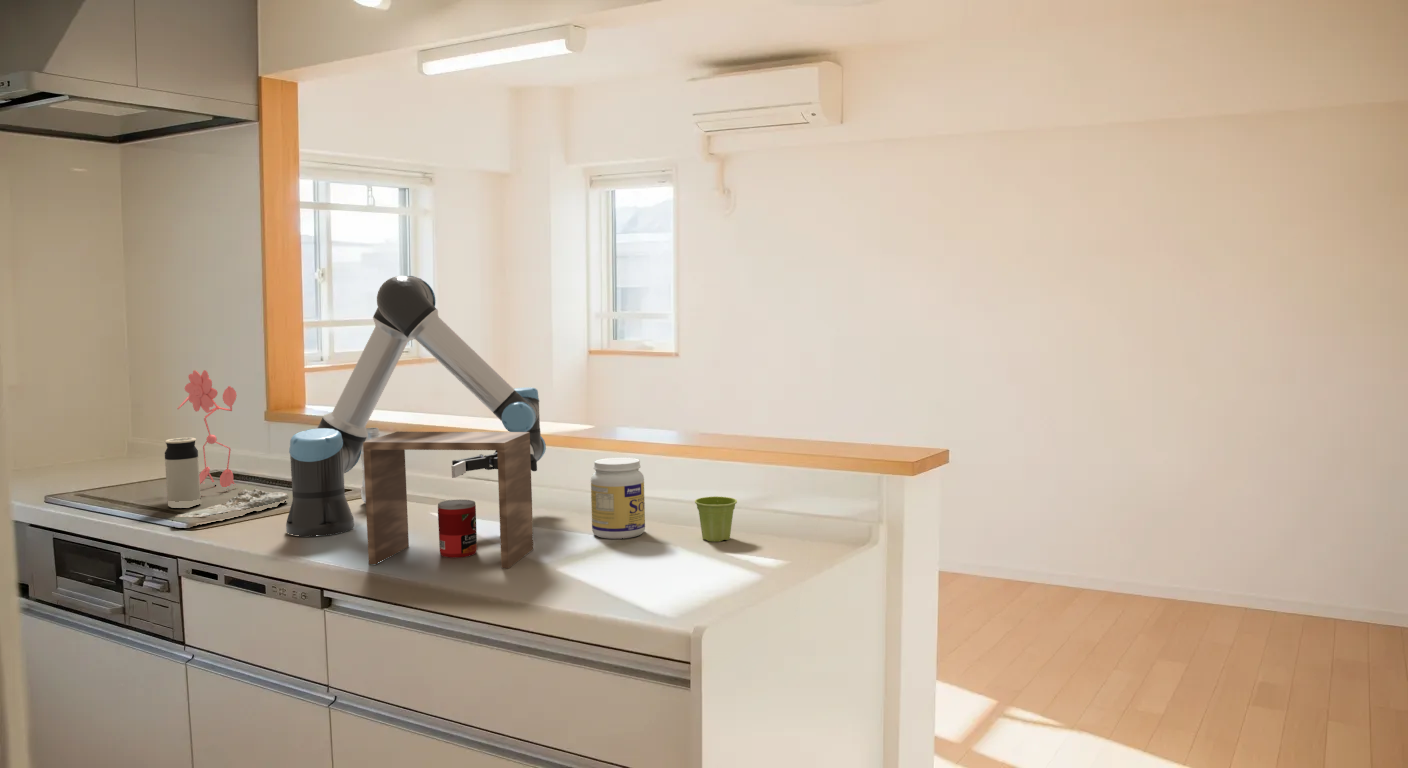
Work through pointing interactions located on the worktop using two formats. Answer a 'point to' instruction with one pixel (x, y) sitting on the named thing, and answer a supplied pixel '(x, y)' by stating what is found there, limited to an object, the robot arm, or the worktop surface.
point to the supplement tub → (617, 498)
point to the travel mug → (182, 470)
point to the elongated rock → (240, 503)
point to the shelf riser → (389, 450)
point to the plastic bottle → (372, 434)
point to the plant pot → (716, 517)
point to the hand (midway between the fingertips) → (482, 471)
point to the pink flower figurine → (203, 397)
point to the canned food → (457, 528)
